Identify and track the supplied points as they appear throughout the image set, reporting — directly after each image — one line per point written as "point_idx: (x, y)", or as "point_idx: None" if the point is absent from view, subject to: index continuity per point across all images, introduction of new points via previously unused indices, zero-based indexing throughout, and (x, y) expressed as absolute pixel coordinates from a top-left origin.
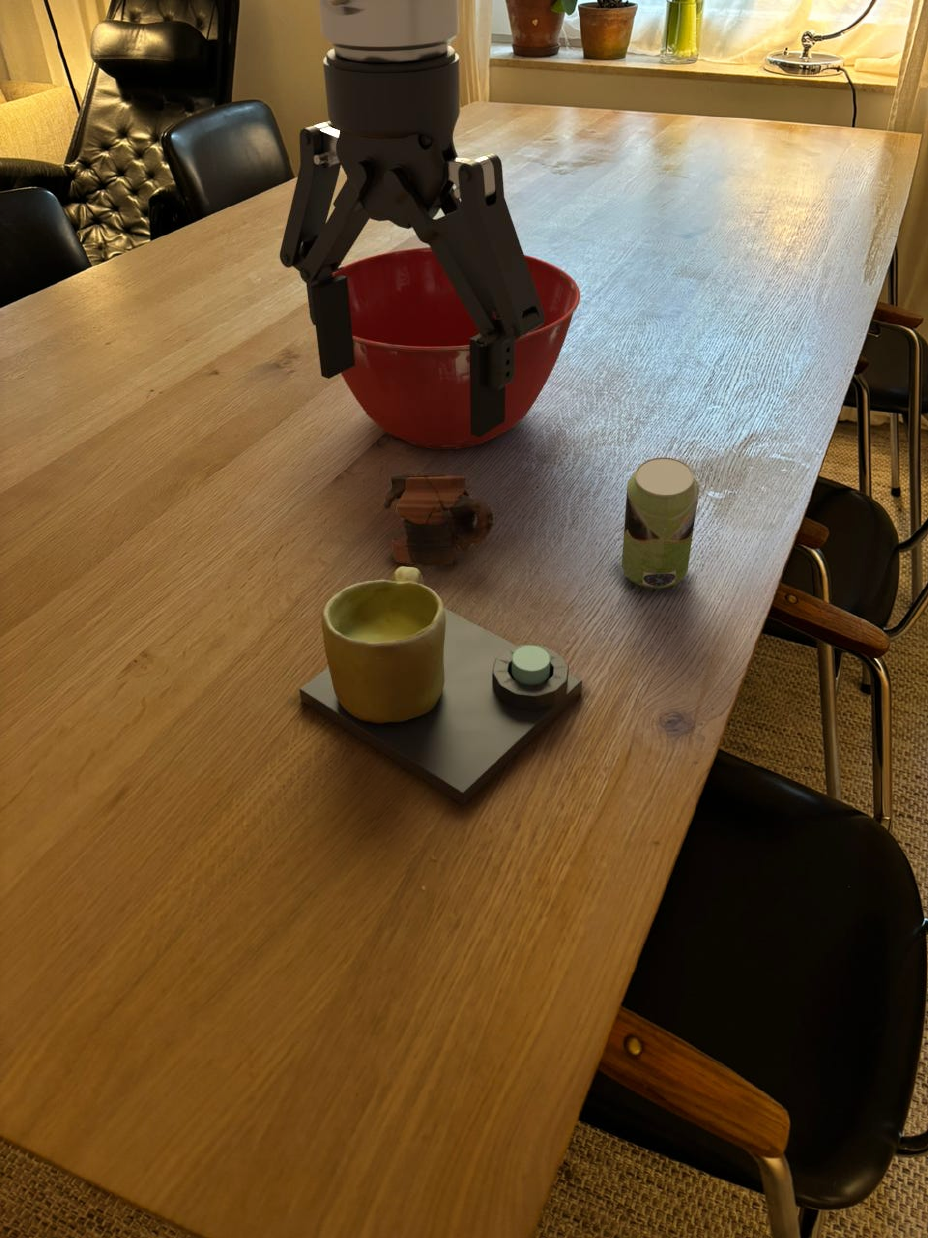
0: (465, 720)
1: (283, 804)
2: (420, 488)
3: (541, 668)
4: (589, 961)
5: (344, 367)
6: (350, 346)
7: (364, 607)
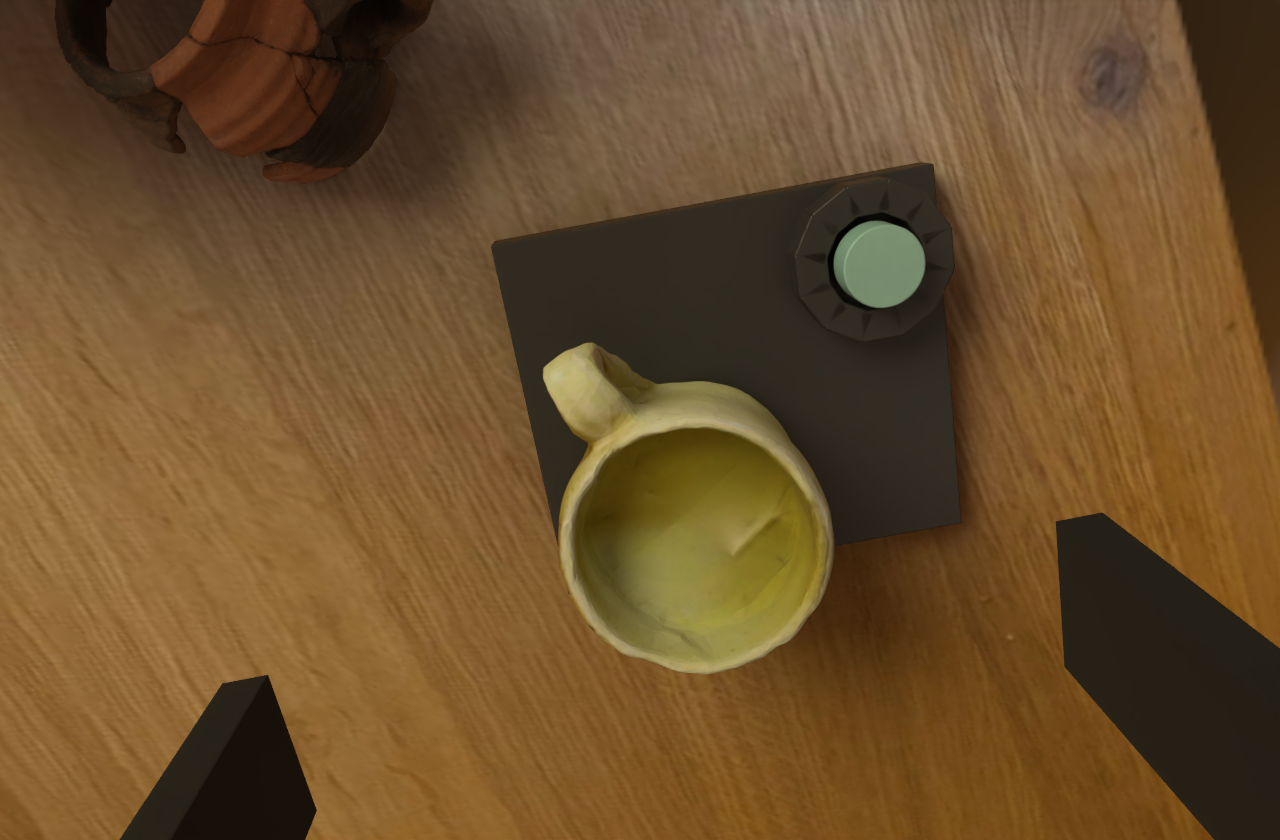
0: (844, 416)
1: (746, 706)
2: (213, 70)
3: (921, 272)
4: (1260, 543)
5: (285, 742)
6: (237, 749)
7: (590, 510)
